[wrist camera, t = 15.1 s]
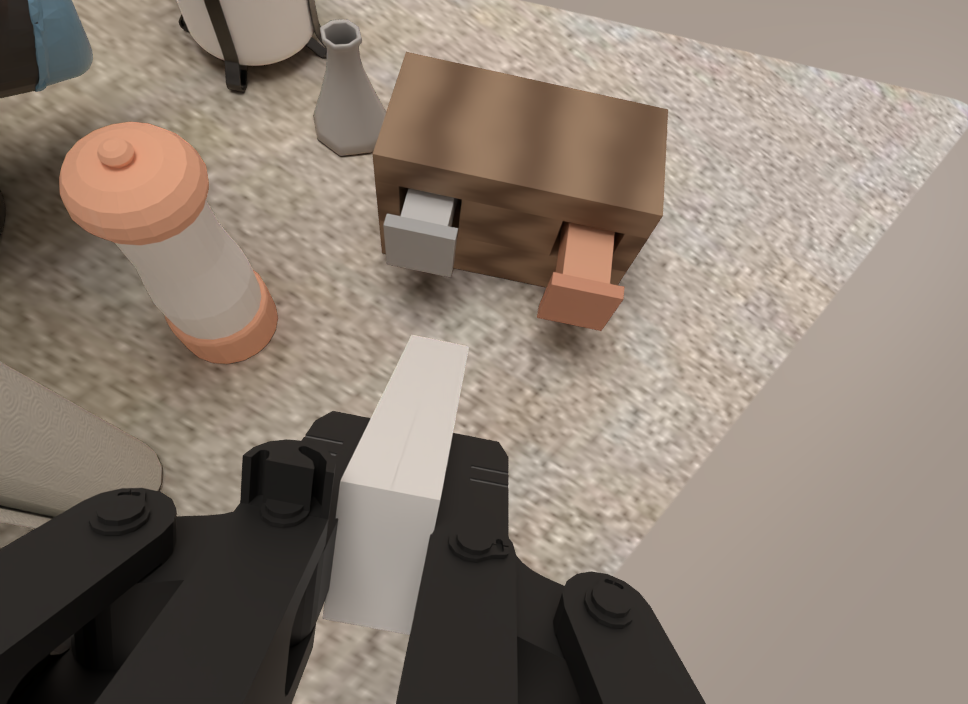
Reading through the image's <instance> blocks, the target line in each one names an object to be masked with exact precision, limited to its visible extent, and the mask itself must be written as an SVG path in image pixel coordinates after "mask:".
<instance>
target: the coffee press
mask: <svg viewBox="0 0 968 704" xmlns="http://www.w3.org/2000/svg"><path fill="white" fill-rule="evenodd" d="M176 1H177V4H178V6H179V8H180V11H181V13H182V15H181V17H180V19H179V25H180V26H181V28H182V29H184V30H185V31H187V32H189V33H190V34H191V35H192V37H193V38H194V40H195V41H196V42H197V43H198V44H199V45H200V46H201V47H202V48H203V49H204V50H206V51H207V52H208V53H210V54H212V55H213V56H215V57H217V58H219V59H222V60H224V62H225V73H226V85H227V88H228V89H230V90H236V91H241V92H244V91H245V90H246V86H247V68H248V65H251V66H256V65H267V64H272V63H276V62H279V61H282V60H285V59H287V58H289V57H291V56H293V55H294V54H296V53H297V52H299V51H300V50H301V49H302V48H303V47H304V46H307V47H308V48H310V49H311V50H312V51H313V52H315V53H316V54H317V55H318V56H319V57H321V58H327V48H324V47H323V46H321V45H320V44H319V43H318V42H317V41H316V40H315V39H313V38H312V37H311V36H312V34H313V32H315V34H316V36H317V38H318V39H319V40H320V42H321V43H322V44H323V42H322V37H321V32H320V27H321V26H320V24H319V21H318V17H317V12H316V6H315V1H314V0H176ZM323 45H324V44H323ZM324 46H325V45H324ZM325 47H326V46H325Z"/></svg>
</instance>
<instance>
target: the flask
mask: <svg viewBox="0 0 968 704" xmlns="http://www.w3.org/2000/svg"><path fill="white" fill-rule="evenodd" d="M320 32H321V37H322V42H323V44H324V45H325V46H326V48H327V62H326V71H325V75H324V80H323V84H322V88H321V91H320V95H319V98H318V101H317V104H316V108H315V111H314V115H313V117H314V122H315V128H316V133H317V139H318V140H320V141H321V142H322V143H324V144H325V145H326V146H328V147H329V148H330V149H332V150H333V151H334V152H336V153H337V154H338V155H340V156H344V155H352V154H361V153H370V152H372V151H374V148H375V145H376V142H377V139H378V136H379V133H380V130H381V127H382V124H383V121H384V118H385V115H386V111H385V109H384V107H383V105H382V103H381V101H380V99H379V98H378V96H377V94H376V92H375V90H374V89H373V87H372V84H371V82H370V80H369V78H368V76H367V74H366V72H365V70H364V68H363V65H362V62H361V59H360V53H359V45H360V44H361V43H362V38H361V34H360V30H359V27H358V26H357V25H355V24H354V23H352V22H351V21H349V20H348V19H340V20H331V21H329V22H328V23H326V24H324V25H323V26H321V27H320Z"/></svg>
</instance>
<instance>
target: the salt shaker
mask: <svg viewBox="0 0 968 704" xmlns="http://www.w3.org/2000/svg"><path fill="white" fill-rule="evenodd" d="M59 185H60V196H61V198H62V201H63V203H64V205H65V207H66V209H67V211H68V213H69V215H70V216H71V218H72V220H73V221H75V222H76V223H77V224H78V225H80V226H81V227H82V228H83V229H85V230H86V231H87V232H89V233H91V234H93V235H95V236H98V237H100V238H103V239H106V240H109V241H111V242H114V243H115V244H116V245H117V246H118V247H119V249H120V250H121V251H122V252H123V253H124V255H125V256H126V257H127V258H128V259H129V261H130V262H131V263H132V264H133V265H134V267H135V268H136V270H137V272H138V274H139V276H140V278H141V280H142V282H143V284H144V286H145V288H146V290H147V292H148V294H149V296H150V297H151V299H152V301H153V303H154V305H155V306H156V307H157V308H158V309H159V310H160V311H161V312H162V313H163V314H164V315H165V319H166V321H167V323H168V325H169V327H170V328H171V330H172V332H173V333H174V334H175V335H176V336H177V337H178V338H179V339H180V340H181V341H182V343H183V344H184V345H185V346H186V347H187V348H188V349H189V350H190V351H191V352H193V353H194V354H195V355H196V356H198V357H199V358H201V359H204V360H206V361H209V362H212V363H224V364H230V363H234V362H239V361H243V360H246V359H247V358H249V357H251V356H253V355H255V354H257V353H258V352H259V351H261V350H262V349H263V348H264V347H265V346H266V345H267V344H268V343H269V341H270V340H271V338H272V336H273V334H274V332H275V331H276V325H277V320H278V316H277V311H276V305H275V303H274V301H273V299H272V297H271V295H270V293H269V291H268V289H267V287H266V285H265V283H264V282H263V280H262V278H261V277H260V275H259V274H258V273H257V272H255V271H254V270H253V269H252V267H251V265H250V262H249V260H248V259H247V257H246V255H245V254H244V252H243V251H242V249H241V248H240V247H239V246H238V244H237V243H236V242H235V241H234V240H233V239H232V238H231V236H230V235H229V234H228V233H227V232H226V231H225V229H224V228H223V227H222V226H221V225H220V224H219V222H218V220H217V218H216V217H215V215H214V213H213V211H212V209H211V207H210V205H209V204H208V202H207V200H206V197H207V193H208V189H209V181H208V174H207V168H206V164H205V163H204V161H203V160H202V158H201V157H200V155H199V154H198V152H197V151H196V150H195V149H194V148H193V147H192V146H191V145H190V144H189V143H188V142H187V141H185V140H184V139H182V138H181V137H180V136H178V135H177V134H176V133H173V132H171V131H168V130H166V129H163V128H160V127H157V126H155V125H152V124H149V123H138V122H125V123H118V124H111V125H108V126H105V127H103V128H100V129H97V130H94V131H92V132H91V133H89V134H88V135H86V136H85V137H83V138H82V139H80V140H79V141H77V143H76V144H75V145H74V146H73V147H72V148H71V149H70V151H69V152H68V153H67V154H66V157H65V159H64V162H63V165H62V167H61V171H60V176H59Z"/></svg>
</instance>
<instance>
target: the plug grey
mask: <svg viewBox="0 0 968 704" xmlns="http://www.w3.org/2000/svg"><path fill="white" fill-rule="evenodd" d="M457 202H458V198H453V197H448V196H444V195H439V194H434V193H429V192H425V191H420V190H415V189H411V188H408V192H407V195H406V199H405V202H404V206H403V209H402V213H401V216H397V215H392V214H387V215H386V218H385V221H384V225H383V226H384V238H385V249H386V261H387V264H388V265H393V266H397V267H402V268H407V269H412V270H417V271H422V272H426V273H431V274H436V275H441V276H446V277H451V276H452V271H453V267H454V259H455V250H456V241H457V233H458V228H454V227H452V223H453V218H454V214H455V210H456V206H457Z"/></svg>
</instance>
